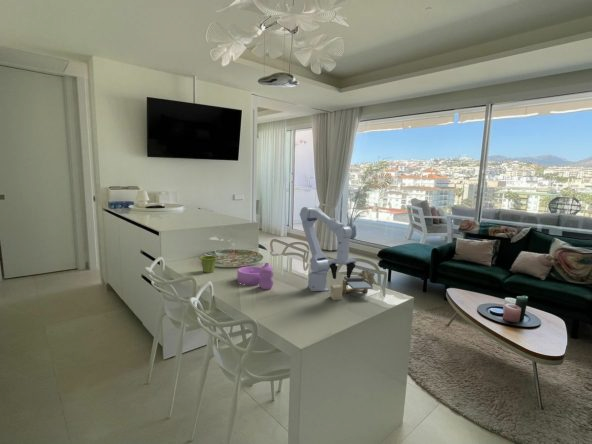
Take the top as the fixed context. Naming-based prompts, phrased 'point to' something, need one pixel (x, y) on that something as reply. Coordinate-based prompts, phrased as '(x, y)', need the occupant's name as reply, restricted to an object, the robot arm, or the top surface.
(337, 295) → the block
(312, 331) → the top surface
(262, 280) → the container set
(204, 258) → the plant pot
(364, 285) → the trapdoor
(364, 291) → the frame
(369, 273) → the rock
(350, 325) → the top surface
